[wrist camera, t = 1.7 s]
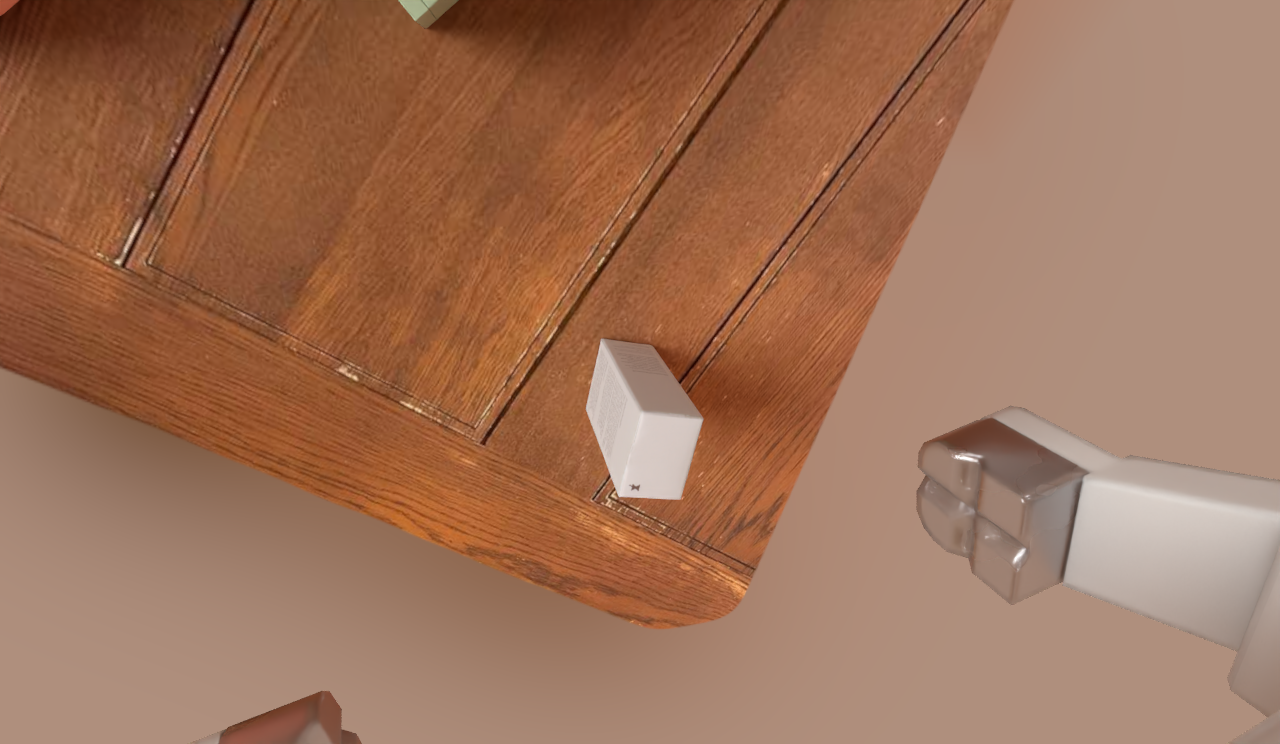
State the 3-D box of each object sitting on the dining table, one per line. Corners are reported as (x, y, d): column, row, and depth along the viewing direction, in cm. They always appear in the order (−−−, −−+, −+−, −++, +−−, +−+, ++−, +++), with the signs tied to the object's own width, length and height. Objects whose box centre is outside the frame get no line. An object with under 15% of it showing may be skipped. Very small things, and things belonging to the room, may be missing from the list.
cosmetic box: (637, 413, 52) (681, 503, 42) (584, 408, 51) (615, 499, 40) (655, 342, 50) (706, 418, 40) (600, 335, 49) (638, 411, 38)
